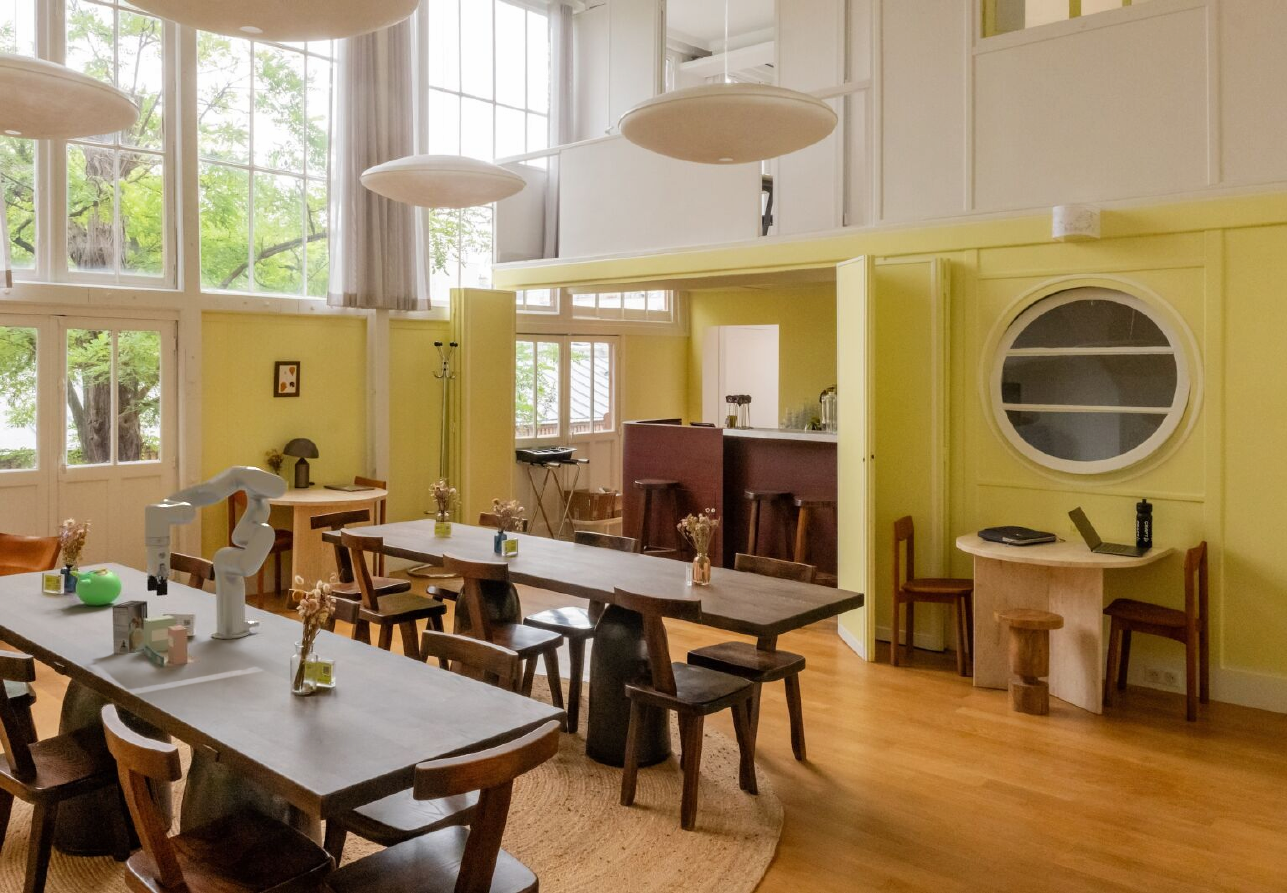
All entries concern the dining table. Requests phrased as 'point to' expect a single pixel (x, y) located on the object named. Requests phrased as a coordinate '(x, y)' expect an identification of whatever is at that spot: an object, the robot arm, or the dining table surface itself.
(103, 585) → the green teapot
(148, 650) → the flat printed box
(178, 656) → the terracotta carton
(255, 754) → the dining table surface
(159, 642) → the sage carton
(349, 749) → the dining table surface
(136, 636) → the coffee box
